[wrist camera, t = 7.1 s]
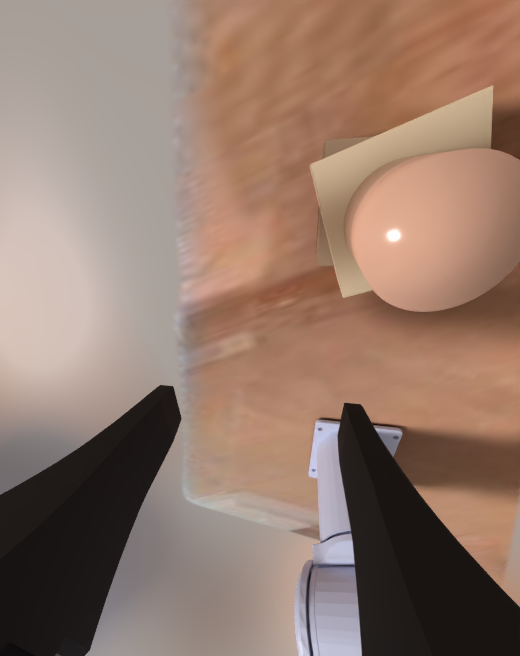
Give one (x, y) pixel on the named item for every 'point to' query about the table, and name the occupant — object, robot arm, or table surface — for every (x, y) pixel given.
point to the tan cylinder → (437, 227)
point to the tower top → (403, 141)
